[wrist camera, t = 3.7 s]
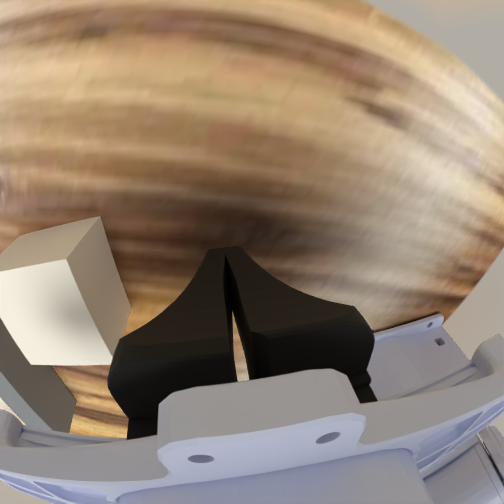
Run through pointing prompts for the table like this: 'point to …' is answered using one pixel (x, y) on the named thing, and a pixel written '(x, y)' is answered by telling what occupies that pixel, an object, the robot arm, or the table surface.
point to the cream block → (63, 295)
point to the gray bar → (33, 389)
